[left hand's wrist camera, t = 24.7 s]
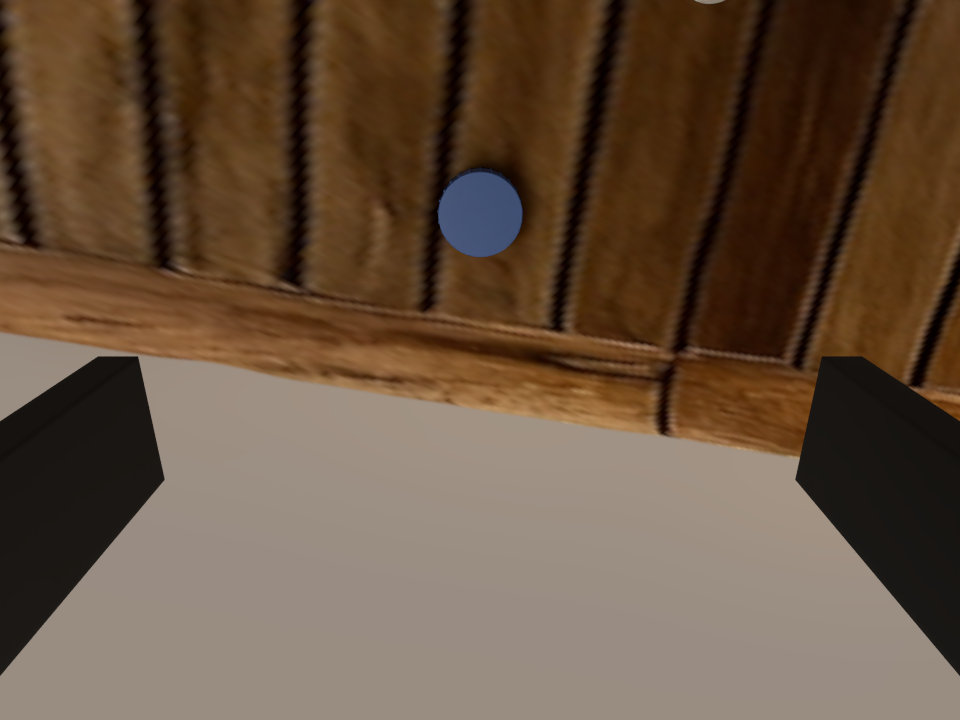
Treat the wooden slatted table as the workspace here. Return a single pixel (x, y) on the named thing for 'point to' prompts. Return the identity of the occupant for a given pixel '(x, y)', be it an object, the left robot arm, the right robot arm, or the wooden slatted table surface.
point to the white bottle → (709, 1)
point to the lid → (480, 212)
